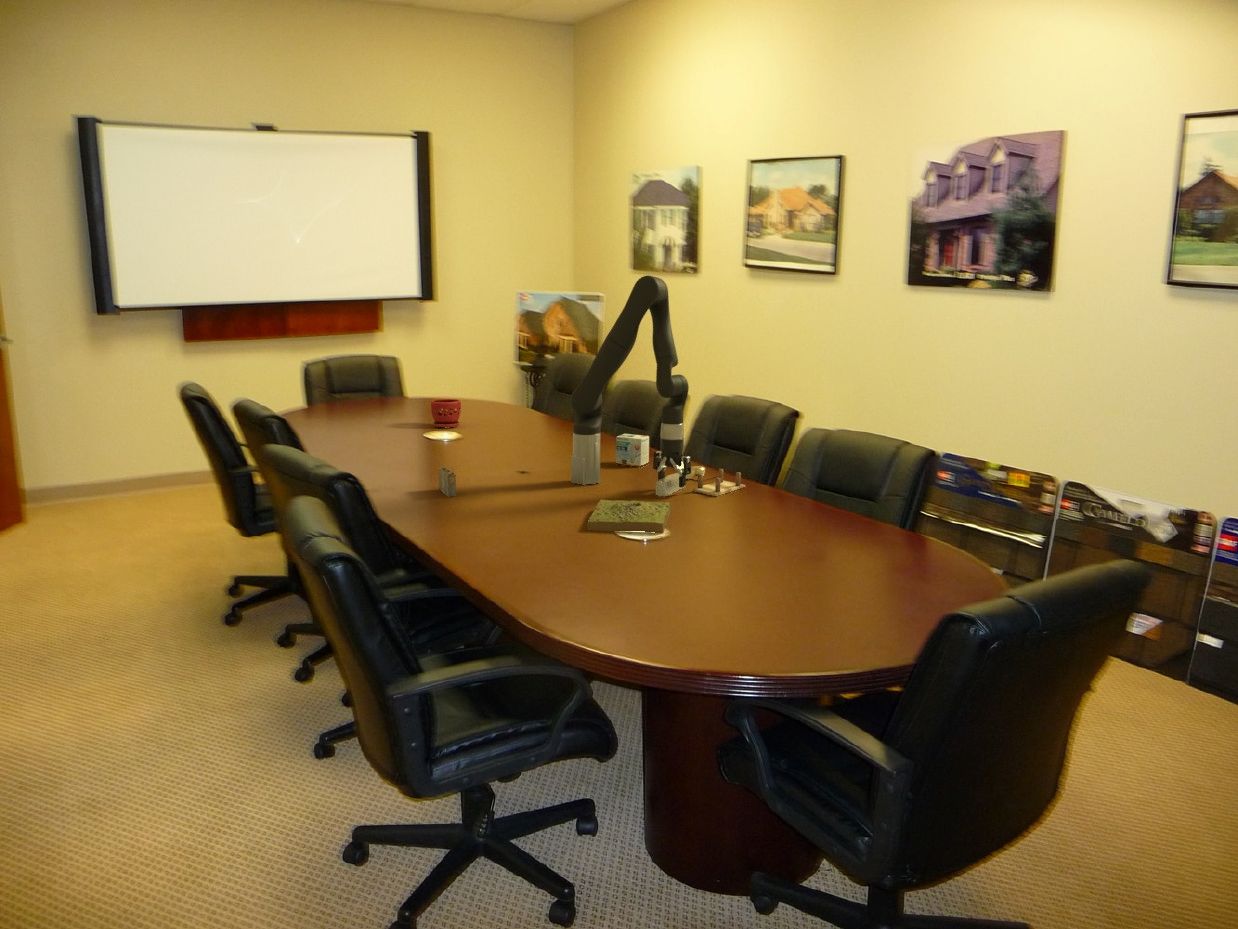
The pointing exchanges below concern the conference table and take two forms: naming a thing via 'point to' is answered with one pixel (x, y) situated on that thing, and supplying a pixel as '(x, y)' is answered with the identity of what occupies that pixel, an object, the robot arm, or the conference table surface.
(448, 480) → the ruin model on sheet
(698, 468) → the beige long bar
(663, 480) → the grey rectangular block
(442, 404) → the plant pot
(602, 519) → the miniature landscape model
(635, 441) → the light bulb box
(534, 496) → the conference table surface
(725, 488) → the peg rack
